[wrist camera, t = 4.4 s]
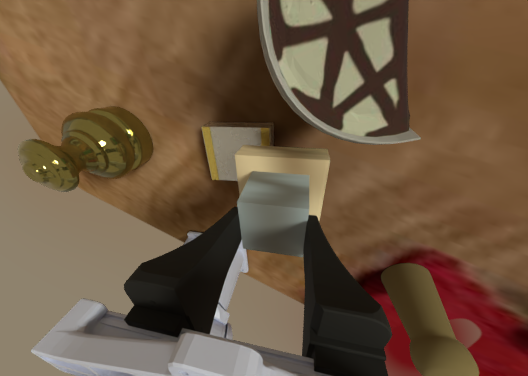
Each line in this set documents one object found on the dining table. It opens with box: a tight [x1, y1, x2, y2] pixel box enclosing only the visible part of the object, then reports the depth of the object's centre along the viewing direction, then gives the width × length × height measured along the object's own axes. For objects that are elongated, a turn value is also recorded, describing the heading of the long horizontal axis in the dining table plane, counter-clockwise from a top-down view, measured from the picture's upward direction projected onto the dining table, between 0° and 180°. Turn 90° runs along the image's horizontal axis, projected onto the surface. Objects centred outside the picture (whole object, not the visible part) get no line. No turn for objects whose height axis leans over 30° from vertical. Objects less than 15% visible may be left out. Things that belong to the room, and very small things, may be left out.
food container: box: [257, 0, 421, 145], centre depth 12 cm, size 12×6×10 cm, turn 21°
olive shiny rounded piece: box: [18, 106, 153, 192], centre depth 20 cm, size 7×7×10 cm
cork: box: [381, 263, 479, 376], centre depth 23 cm, size 6×6×11 cm
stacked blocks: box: [235, 145, 330, 257], centre depth 16 cm, size 7×7×6 cm
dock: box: [201, 122, 274, 181], centre depth 21 cm, size 7×6×2 cm
